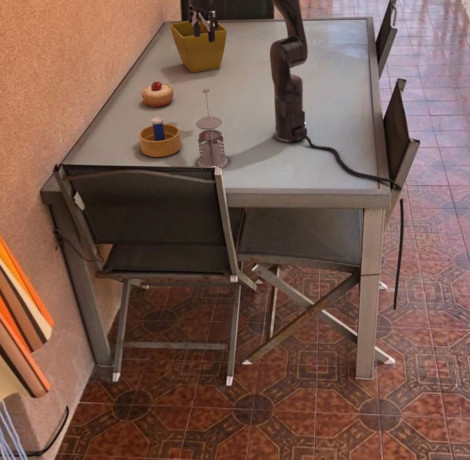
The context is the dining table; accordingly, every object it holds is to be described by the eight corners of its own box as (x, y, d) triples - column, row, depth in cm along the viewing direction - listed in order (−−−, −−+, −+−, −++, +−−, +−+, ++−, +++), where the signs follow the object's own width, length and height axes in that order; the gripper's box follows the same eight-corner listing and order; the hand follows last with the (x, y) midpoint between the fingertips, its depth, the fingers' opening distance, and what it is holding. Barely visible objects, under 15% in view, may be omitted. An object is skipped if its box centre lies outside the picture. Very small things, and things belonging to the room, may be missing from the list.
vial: (168, 147, 217) (164, 119, 212) (159, 150, 216) (155, 123, 210) (163, 143, 220) (159, 116, 214) (153, 147, 218) (149, 119, 212)
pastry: (179, 96, 253) (176, 74, 248) (167, 109, 244) (164, 87, 239) (150, 95, 256) (147, 73, 251) (138, 107, 247) (134, 85, 242)
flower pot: (230, 69, 274) (227, 29, 265) (186, 77, 269) (182, 37, 259) (215, 55, 289) (212, 17, 279) (174, 63, 284) (169, 24, 274)
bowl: (189, 149, 217) (187, 132, 213) (154, 162, 210) (151, 145, 207) (168, 136, 225) (166, 120, 222) (134, 148, 219) (131, 132, 216)
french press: (228, 153, 213) (222, 80, 198) (228, 171, 203) (222, 96, 189) (198, 155, 213) (189, 82, 198) (196, 173, 203) (188, 98, 189)
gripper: (178, -12, 218) (183, 37, 227) (203, -5, 208) (207, 46, 217) (197, -16, 222) (201, 32, 230) (222, -9, 212) (225, 40, 221)
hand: (204, 39), depth 224 cm, fingers open, 8 cm apart
